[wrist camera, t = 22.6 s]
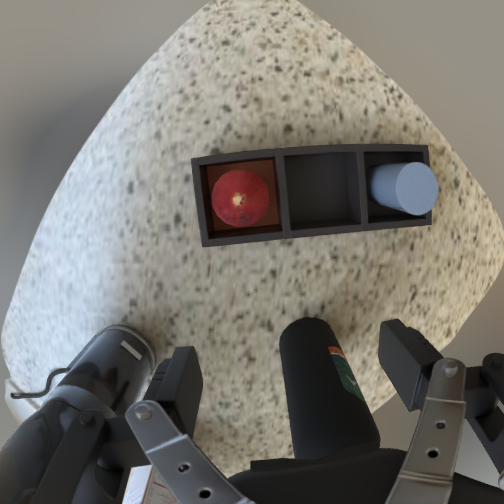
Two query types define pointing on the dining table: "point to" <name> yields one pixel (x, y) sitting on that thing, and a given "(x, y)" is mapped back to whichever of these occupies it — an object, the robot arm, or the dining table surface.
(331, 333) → the wine bottle
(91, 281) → the dining table surface
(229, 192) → the onion
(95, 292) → the dining table surface
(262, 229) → the holder
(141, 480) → the cracker box
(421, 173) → the light blue cylinder
